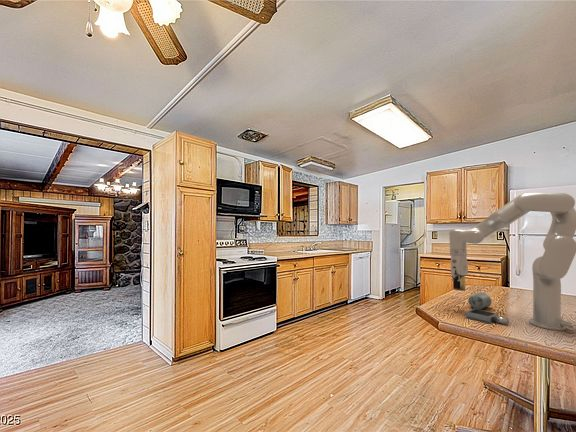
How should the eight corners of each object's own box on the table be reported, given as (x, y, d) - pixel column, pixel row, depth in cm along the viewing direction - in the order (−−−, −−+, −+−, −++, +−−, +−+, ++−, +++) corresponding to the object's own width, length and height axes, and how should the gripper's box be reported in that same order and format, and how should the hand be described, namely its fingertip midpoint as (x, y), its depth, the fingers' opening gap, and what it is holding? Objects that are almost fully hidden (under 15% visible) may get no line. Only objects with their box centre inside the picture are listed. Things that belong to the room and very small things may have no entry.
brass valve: (467, 289, 151) (466, 274, 151) (462, 291, 148) (462, 275, 148) (456, 288, 155) (455, 273, 156) (451, 289, 152) (451, 274, 152)
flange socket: (511, 323, 136) (511, 316, 136) (504, 327, 130) (504, 320, 130) (474, 314, 148) (474, 307, 148) (465, 317, 142) (465, 311, 142)
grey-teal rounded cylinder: (484, 306, 151) (477, 287, 157) (466, 310, 158) (461, 292, 164) (499, 310, 157) (492, 291, 162) (482, 313, 164) (476, 296, 169)
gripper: (458, 254, 144) (460, 291, 143) (472, 252, 155) (474, 287, 154) (443, 253, 150) (444, 289, 149) (457, 251, 161) (458, 284, 160)
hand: (459, 287), depth 152 cm, fingers closed on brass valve, 5 cm apart
